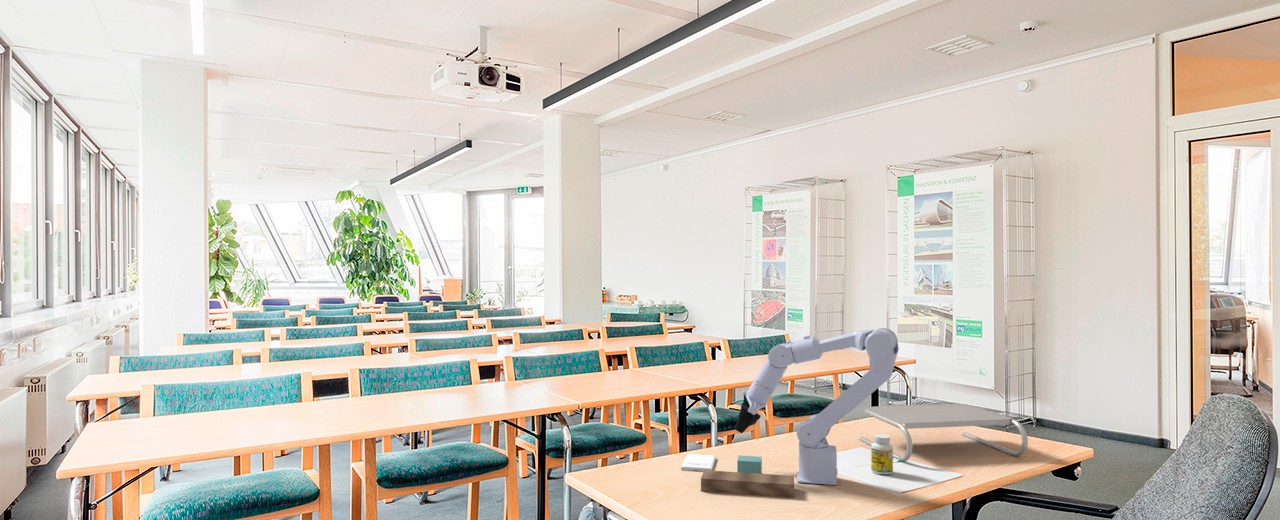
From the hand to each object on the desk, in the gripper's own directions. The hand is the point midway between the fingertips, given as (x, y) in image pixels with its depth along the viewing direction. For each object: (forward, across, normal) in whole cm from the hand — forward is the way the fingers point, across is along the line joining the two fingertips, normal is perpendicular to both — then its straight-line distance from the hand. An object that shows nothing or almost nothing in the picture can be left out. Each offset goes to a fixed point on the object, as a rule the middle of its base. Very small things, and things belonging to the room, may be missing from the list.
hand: (739, 425), depth 189 cm
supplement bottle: (-7, -4, +38) cm, 39 cm away
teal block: (+8, +7, +8) cm, 13 cm away
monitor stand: (-13, -31, +57) cm, 66 cm away
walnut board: (+6, +19, +7) cm, 21 cm away
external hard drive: (+16, +1, -4) cm, 17 cm away
